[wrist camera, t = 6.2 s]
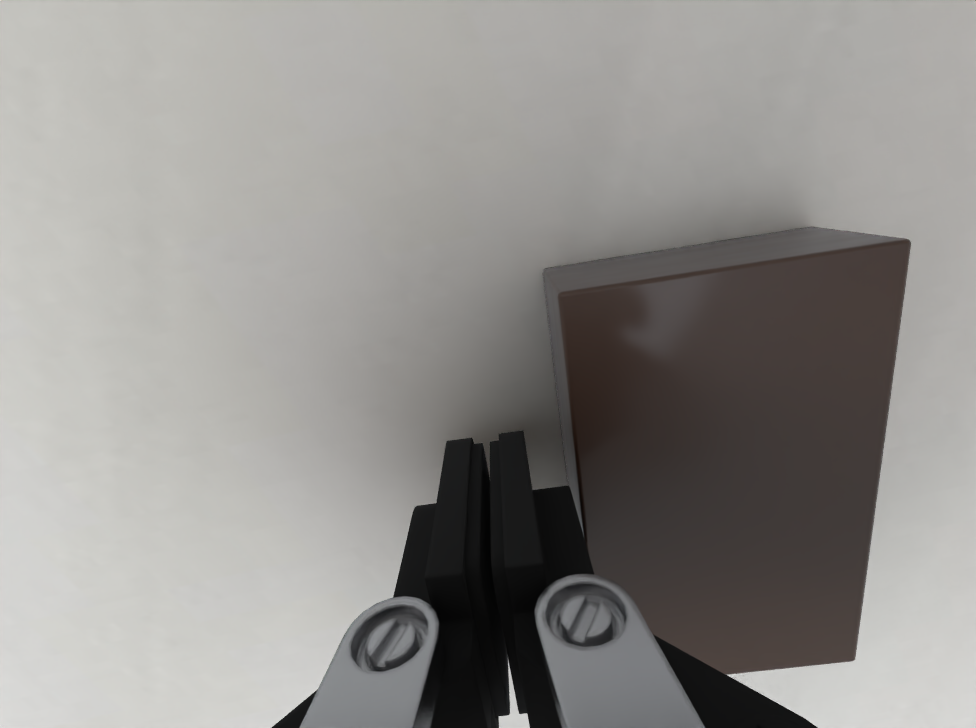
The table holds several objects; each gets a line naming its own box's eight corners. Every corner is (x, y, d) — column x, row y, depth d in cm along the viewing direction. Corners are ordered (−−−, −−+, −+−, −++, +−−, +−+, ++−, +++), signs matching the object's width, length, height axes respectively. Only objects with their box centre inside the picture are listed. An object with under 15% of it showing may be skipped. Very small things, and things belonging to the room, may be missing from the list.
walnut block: (541, 268, 10) (557, 293, 8) (813, 225, 10) (914, 238, 8) (581, 599, 13) (601, 689, 11) (789, 575, 13) (856, 662, 11)
